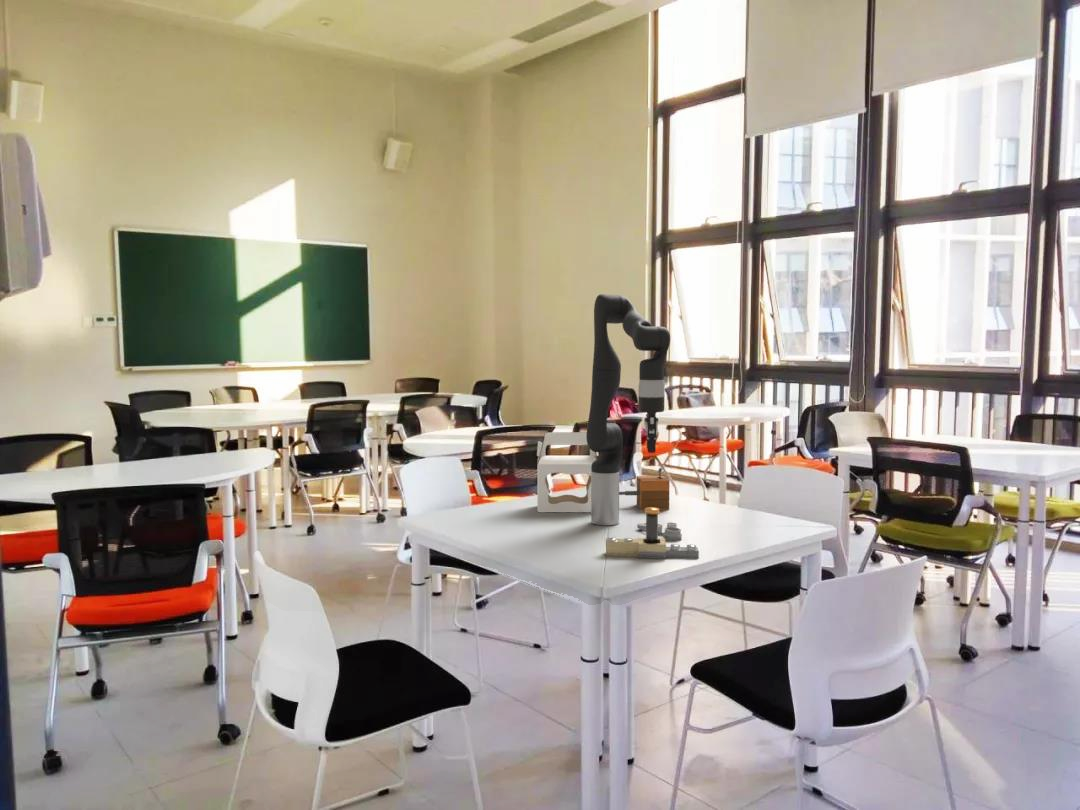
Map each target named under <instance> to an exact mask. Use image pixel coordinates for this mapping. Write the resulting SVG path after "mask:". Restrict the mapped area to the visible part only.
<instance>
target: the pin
mask: <svg viewBox="0 0 1080 810" xmlns="http://www.w3.org/2000/svg"><path fill="white" fill-rule="evenodd" d="M644 514H645V518H646V519H645V521H646V522H645V523H646V532H645V537H646V543H658V538H659V535H658V524H659V520H658V519H659V514H660V510H659V508H654V507H649V508H645V510H644Z"/></svg>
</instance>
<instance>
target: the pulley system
mask: <svg viewBox="0 0 1080 810" xmlns="http://www.w3.org/2000/svg"><path fill="white" fill-rule="evenodd" d="M677 526H678V525H677V523H676V522H667V523H666V527H665V528H664V532H663V524H660V523H658V536H662V538H665V542H679V541H682V538H683V534H682V529H681V528H679V527H677ZM636 527H637V529H639V530H641V531H643V532H644V533H646V522H645V523H642V522H641V523H640V522H639V523H637V526H636ZM644 538H646V536H645V537H644Z"/></svg>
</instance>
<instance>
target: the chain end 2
mask: <svg viewBox="0 0 1080 810" xmlns="http://www.w3.org/2000/svg"><path fill="white" fill-rule="evenodd" d="M699 554H700V551H699V548H698V546H697V545H696V544H692V543H691V544H686V546H681V545H680V544H678V543H673V544H670V546H666V552H650V551H638V557H637V558H638V559H648V560H649V559H650V560H651V559H652V560H654V559H655V560H666V559H667V558H675V559H676V558H678V559H679V558H682V559H685V558H684V557H688V558H687V559H690V558H689V557H694V558H693V559H699Z"/></svg>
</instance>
